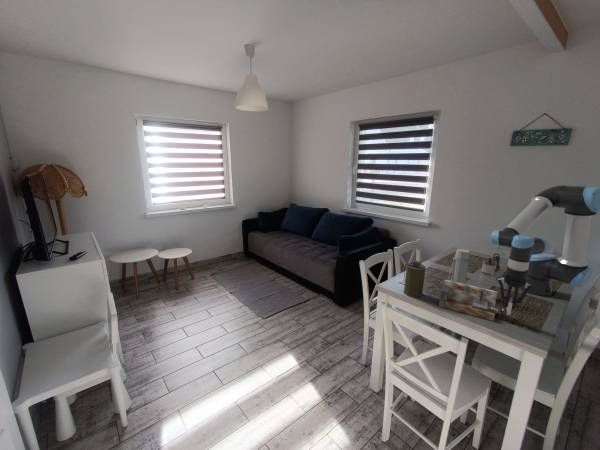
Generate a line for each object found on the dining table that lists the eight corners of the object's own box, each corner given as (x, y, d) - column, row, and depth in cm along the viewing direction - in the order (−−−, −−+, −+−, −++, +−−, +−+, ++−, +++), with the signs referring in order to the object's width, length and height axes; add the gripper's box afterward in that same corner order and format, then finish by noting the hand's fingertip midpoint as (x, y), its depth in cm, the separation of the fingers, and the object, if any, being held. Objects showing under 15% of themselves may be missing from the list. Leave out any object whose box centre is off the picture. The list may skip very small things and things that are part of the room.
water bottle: (461, 287, 164) (468, 249, 158) (466, 293, 156) (472, 253, 151) (445, 285, 166) (451, 247, 160) (448, 291, 159) (454, 251, 153)
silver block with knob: (505, 313, 132) (508, 296, 130) (505, 318, 128) (509, 301, 125) (472, 305, 140) (475, 289, 138) (471, 309, 135) (474, 293, 133)
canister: (423, 292, 157) (427, 260, 153) (421, 299, 148) (425, 266, 144) (404, 287, 163) (407, 257, 158) (401, 294, 154) (404, 262, 149)
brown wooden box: (493, 312, 137) (497, 291, 134) (493, 321, 129) (498, 299, 126) (441, 298, 150) (444, 279, 147) (438, 306, 142) (441, 286, 139)
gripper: (534, 268, 123) (524, 314, 128) (499, 262, 130) (491, 306, 136) (536, 274, 117) (526, 321, 122) (500, 267, 124) (491, 312, 130)
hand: (507, 313), depth 129 cm, fingers closed
